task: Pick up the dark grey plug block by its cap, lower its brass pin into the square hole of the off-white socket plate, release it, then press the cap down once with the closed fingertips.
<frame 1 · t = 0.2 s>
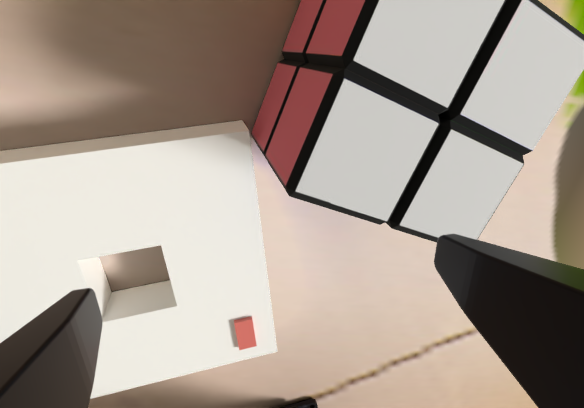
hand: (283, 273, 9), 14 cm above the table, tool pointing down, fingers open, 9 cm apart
socket plate: (137, 257, 24), on the table
puzzle cube: (348, 89, 23), on the table
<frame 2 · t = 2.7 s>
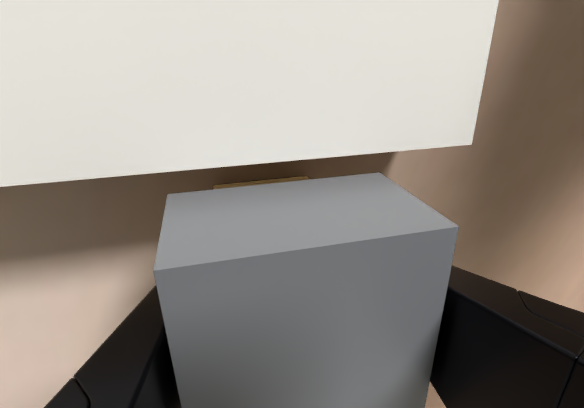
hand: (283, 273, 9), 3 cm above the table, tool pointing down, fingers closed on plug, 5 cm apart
plug: (263, 222, 12), on the table, touching gripper
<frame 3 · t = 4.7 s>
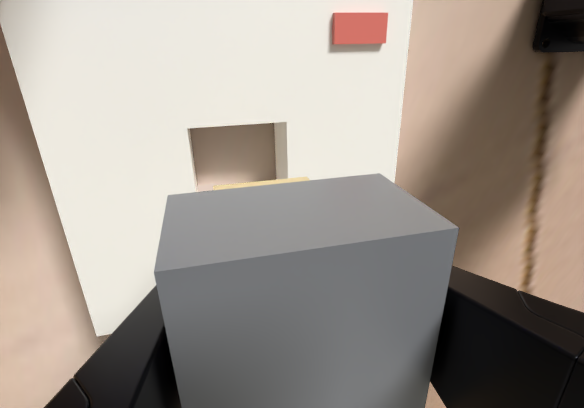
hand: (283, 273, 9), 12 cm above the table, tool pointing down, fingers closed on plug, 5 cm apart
plug: (263, 223, 12), point 8 cm above the table, touching gripper
socket plate: (235, 155, 20), on the table
when the fingers open (4 cm above the table, at t = 6.6 s): plug drops 1 cm, resting on socket plate.
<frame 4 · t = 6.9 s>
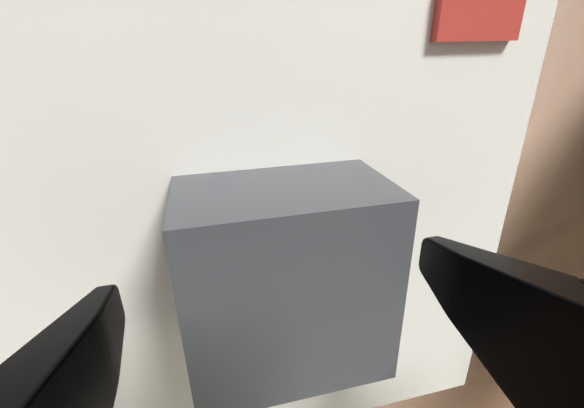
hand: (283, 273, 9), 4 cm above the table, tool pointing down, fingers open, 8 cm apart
plug: (258, 208, 13), resting on socket plate
socket plate: (256, 208, 13), on the table
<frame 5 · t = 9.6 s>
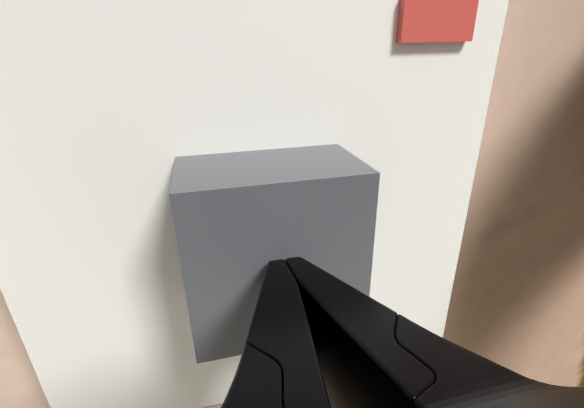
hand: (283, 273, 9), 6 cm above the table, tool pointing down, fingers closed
plug: (251, 191, 15), resting on socket plate
socket plate: (250, 190, 15), on the table
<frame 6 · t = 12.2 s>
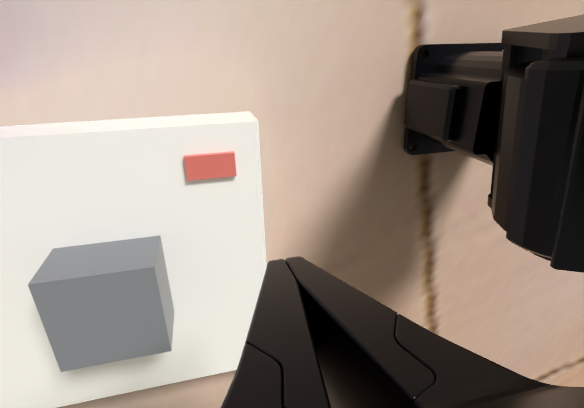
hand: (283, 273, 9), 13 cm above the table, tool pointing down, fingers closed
plug: (128, 253, 22), resting on socket plate
socket plate: (127, 253, 22), on the table
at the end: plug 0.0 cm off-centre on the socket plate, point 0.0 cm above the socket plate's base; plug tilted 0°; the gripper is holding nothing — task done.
